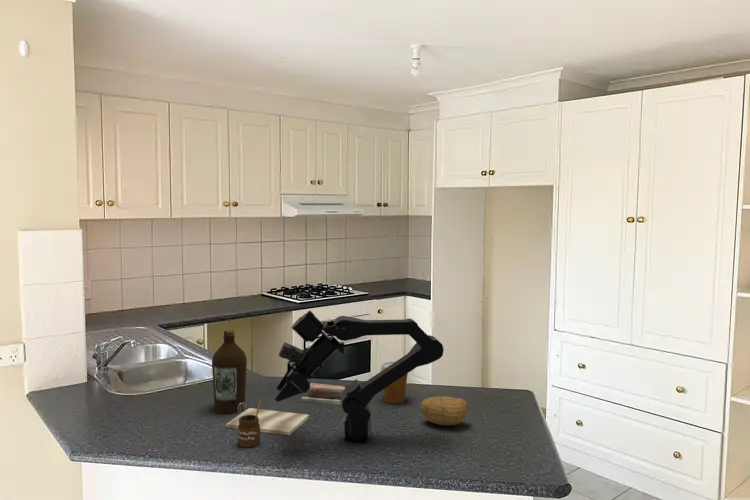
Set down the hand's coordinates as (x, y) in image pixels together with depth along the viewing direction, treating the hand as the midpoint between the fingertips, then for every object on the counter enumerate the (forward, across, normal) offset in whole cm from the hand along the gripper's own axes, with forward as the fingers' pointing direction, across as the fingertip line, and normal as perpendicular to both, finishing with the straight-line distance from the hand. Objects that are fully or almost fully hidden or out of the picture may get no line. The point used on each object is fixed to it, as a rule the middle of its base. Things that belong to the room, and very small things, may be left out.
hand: (276, 394), depth 152 cm
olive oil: (+20, -28, -2) cm, 35 cm away
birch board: (+11, -14, +7) cm, 20 cm away
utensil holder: (+15, 0, +4) cm, 15 cm away
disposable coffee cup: (-17, -29, +36) cm, 49 cm away
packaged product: (-2, -34, +21) cm, 40 cm away
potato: (-25, -7, +44) cm, 51 cm away
